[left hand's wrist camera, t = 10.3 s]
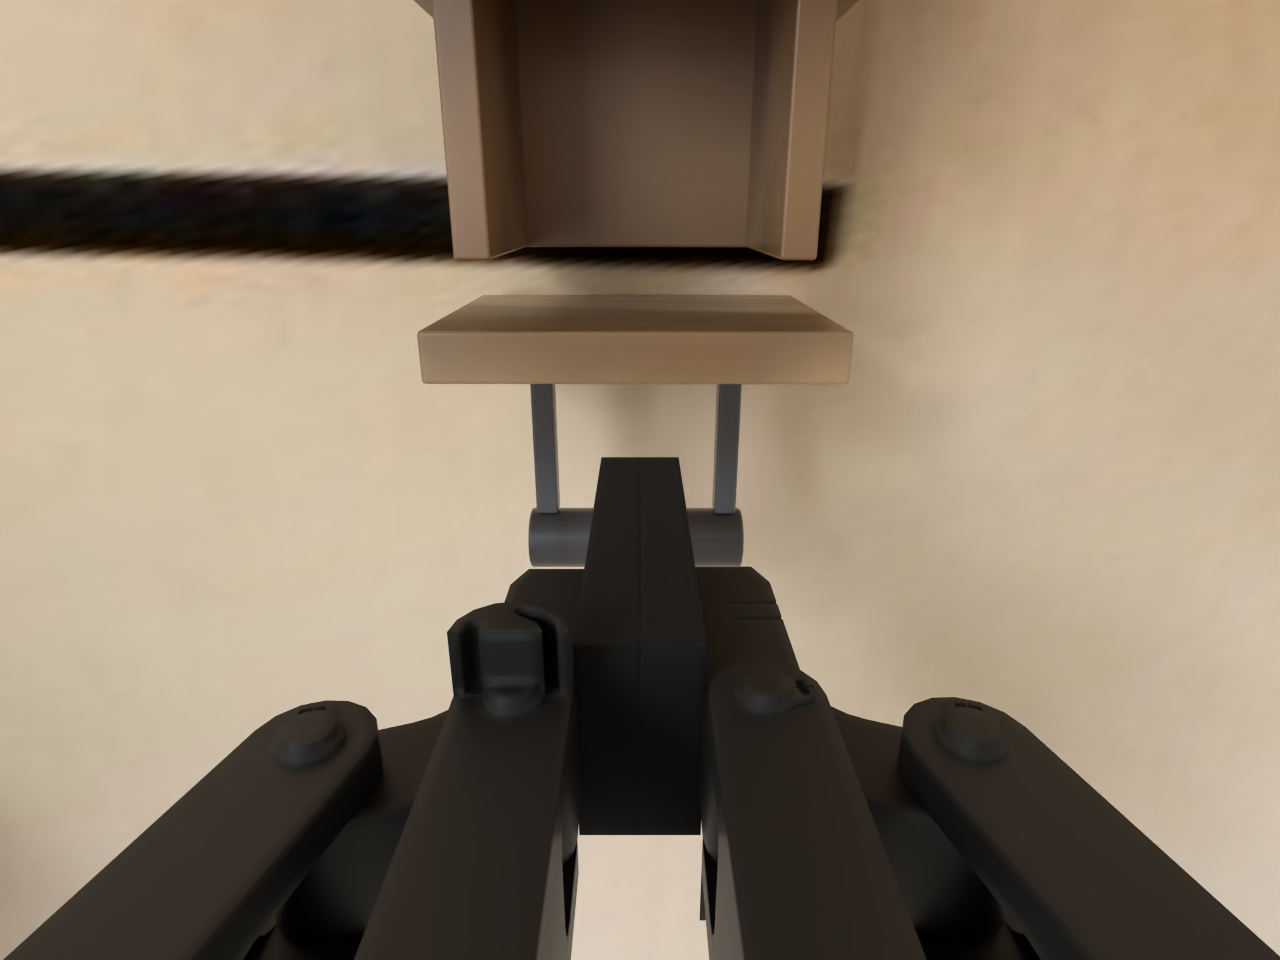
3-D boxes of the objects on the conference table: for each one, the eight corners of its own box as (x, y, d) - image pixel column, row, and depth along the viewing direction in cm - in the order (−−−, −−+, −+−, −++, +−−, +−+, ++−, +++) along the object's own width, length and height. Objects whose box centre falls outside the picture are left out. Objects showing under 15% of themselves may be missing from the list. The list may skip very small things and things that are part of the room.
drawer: (776, 509, 25) (825, 618, 19) (497, 509, 25) (445, 617, 19) (833, -299, 18) (949, -603, 11) (438, -299, 18) (317, -604, 11)
